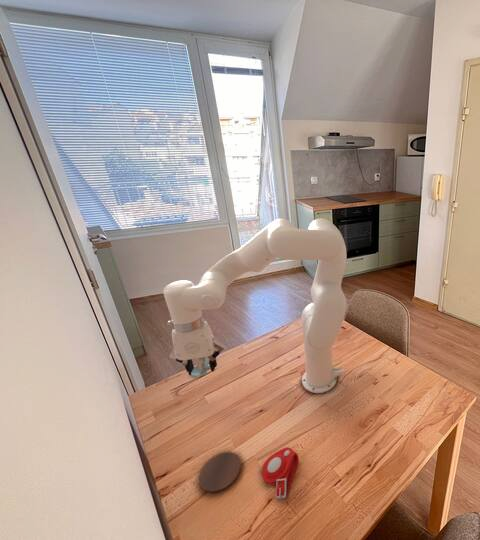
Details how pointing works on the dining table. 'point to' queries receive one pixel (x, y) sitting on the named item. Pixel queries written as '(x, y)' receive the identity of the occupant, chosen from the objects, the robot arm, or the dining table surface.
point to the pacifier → (200, 368)
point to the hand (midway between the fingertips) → (202, 369)
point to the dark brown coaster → (220, 472)
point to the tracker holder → (281, 470)
